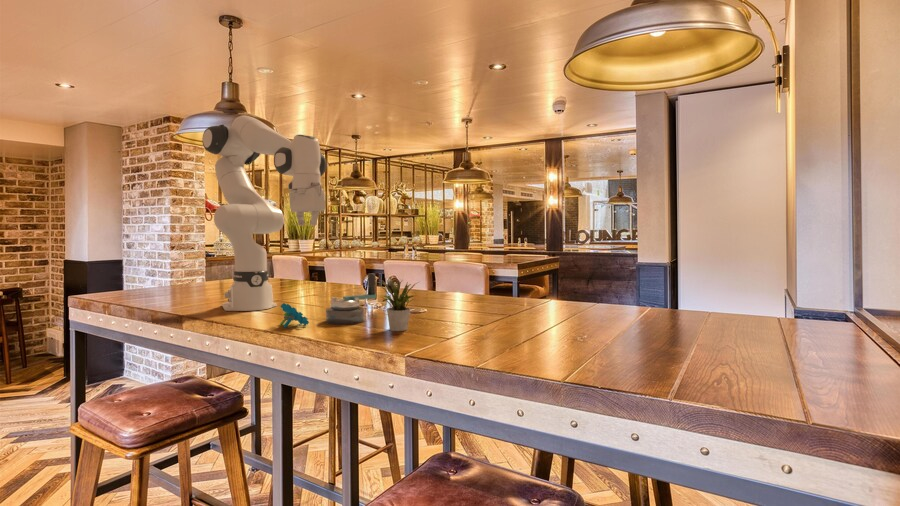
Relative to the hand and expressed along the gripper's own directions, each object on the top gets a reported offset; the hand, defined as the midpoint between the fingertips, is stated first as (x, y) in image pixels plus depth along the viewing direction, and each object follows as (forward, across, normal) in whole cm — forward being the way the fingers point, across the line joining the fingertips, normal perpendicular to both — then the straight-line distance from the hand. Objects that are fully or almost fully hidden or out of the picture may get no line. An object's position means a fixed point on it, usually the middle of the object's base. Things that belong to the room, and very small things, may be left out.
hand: (307, 225), depth 163 cm
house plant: (+31, -34, -12) cm, 48 cm away
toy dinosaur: (+31, -11, +9) cm, 34 cm away
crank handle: (+27, -13, -10) cm, 32 cm away
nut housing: (+31, -13, -7) cm, 34 cm away
